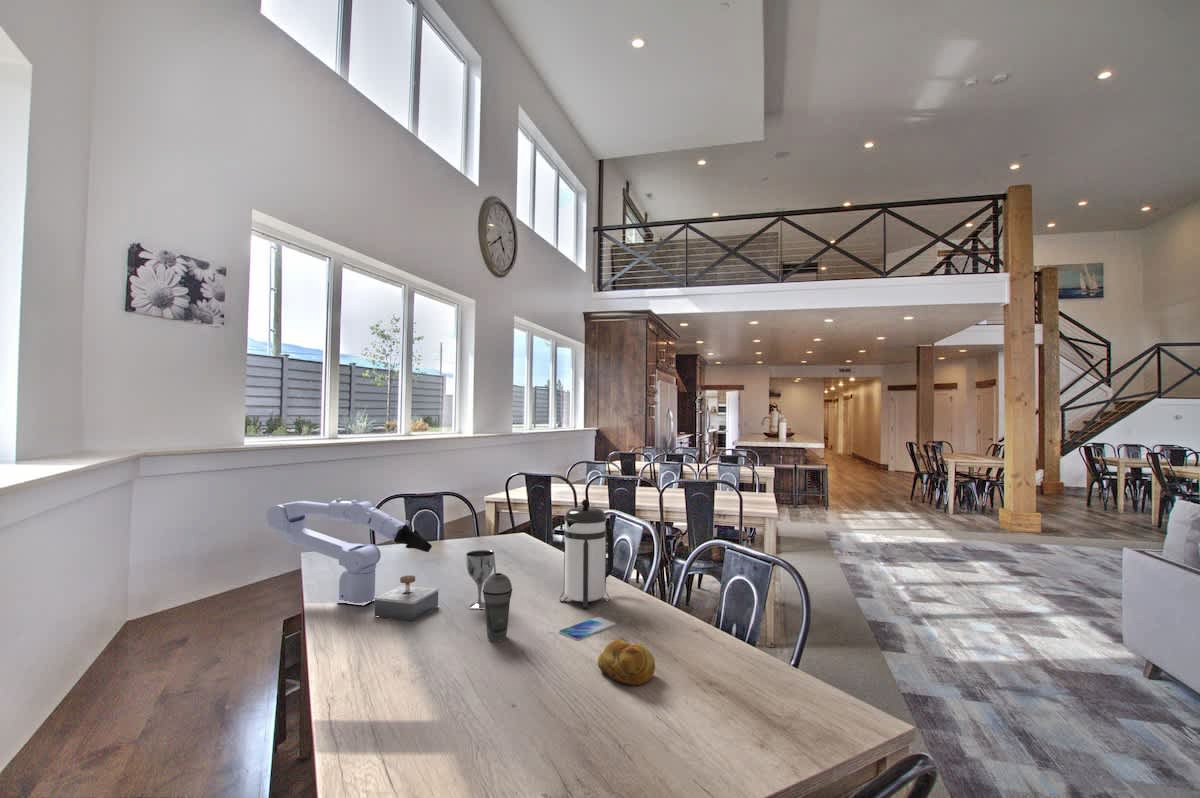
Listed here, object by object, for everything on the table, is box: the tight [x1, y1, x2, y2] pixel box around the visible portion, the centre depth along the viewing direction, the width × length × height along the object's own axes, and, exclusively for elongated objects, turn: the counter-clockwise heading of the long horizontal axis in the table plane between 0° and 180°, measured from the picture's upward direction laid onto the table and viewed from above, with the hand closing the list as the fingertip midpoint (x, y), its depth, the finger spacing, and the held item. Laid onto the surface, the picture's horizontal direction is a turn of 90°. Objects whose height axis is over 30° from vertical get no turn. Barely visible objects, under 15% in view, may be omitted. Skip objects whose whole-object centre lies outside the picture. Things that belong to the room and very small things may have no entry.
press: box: [374, 584, 439, 622], centre depth 155 cm, size 12×14×5 cm
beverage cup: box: [482, 554, 513, 642], centre depth 137 cm, size 7×7×20 cm
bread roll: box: [597, 639, 656, 686], centre depth 117 cm, size 13×10×8 cm
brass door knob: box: [399, 575, 416, 595], centre depth 154 cm, size 10×10×6 cm
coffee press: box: [559, 498, 615, 610], centre depth 166 cm, size 17×16×30 cm
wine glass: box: [465, 549, 495, 608], centre depth 160 cm, size 8×8×15 cm
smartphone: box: [558, 616, 618, 641], centre depth 143 cm, size 7×1×15 cm
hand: (426, 547), depth 160 cm, fingers open, 7 cm apart
